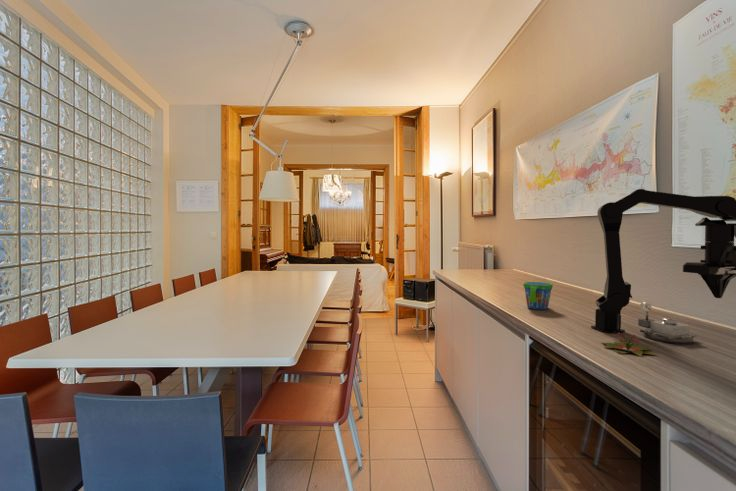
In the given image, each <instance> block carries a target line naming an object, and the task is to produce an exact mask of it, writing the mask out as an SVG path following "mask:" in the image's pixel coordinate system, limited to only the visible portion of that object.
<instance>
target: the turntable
mask: <svg viewBox="0 0 736 491" xmlns="http://www.w3.org/2000/svg"><path fill="white" fill-rule="evenodd" d="M639 332H641V333H642V336H643V337H644V338H647V339H649V340H652V341H657V342H660V343H661V342H662V343H666V344H674V345H691V344H694V339H695V338H697V334H694V333H690V332H689V335H680V336H670V335H667V334H663V333H659V332H655V331H651V330H650V328H642V329H641V328H640V329H639Z"/></svg>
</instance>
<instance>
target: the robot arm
mask: <svg viewBox="0 0 736 491" xmlns="http://www.w3.org/2000/svg"><path fill="white" fill-rule="evenodd" d="M639 204H645V205H650V206H658V207H664V208H670V209H671V208H672V209H673V208H674V209H679V210H685V211H690V212H693V213H695V214H698V215H701V216H703V217H702V218H701V219H700V220H699V221H698V222H695V224H694V225H695V227H704V245H700V250H704V259H700V260H699V261H689V262H685V263H684V264H683V265H682V273H691V274H698V275H699V276H700V277H701V278H702V280H703V281H704V282H705V284H706V286H707V288H708V289H709V291H711V294H712V295H713V297H714V298H715V299H722V298H723V296H724V294H725V291H726V289H727V287H728V285H729V283H730V282H731V280H732V279H734V278H736V273H735V271H736V245H735V239H736V198H735V197H733V196H730V195H706V196H705V195H704V196H703V195H702V196H693V195H685V194H677V193H669V192H661V191H655V190H654V191H652V190H646V189H643V188H638V189H635V190H633V191H632V192H631V193H630V194H628V195H626V196H624V197H622V198H620V199H619V200H617V201H615V202H614V201H613V202H611V201H609V202H606V203H605V204H603V205H601V206H600V207H598V210H597V218H598V222H599V224H600V228H601V230H602V233H603V241H604V254H605V255H604V256H605V257H604V258H605V268H606V269H605V270H606V278H605V283H604V288H603V289H604V290H603V295H602V296H600V297H599V298H598V299H596V300H595V304H596V307H597V309H595V314H594V315H595V324H594V325H591V326H590V328H592V329H595V330H598V331H601V332H604V333H608V334H610V333H618V332H619V333H623V332H624V333H625V332H626V330H625V329H623V328H622V315H621V313H622V312H621V311H622V310H623V308H624V307H626V306H628V305H629V304H630V300H631V299H633V295H632V293H631V290H632V284H631V283H630V282H628V281H625V279H624V277H623V266H622V254H621V253H622V252H621V251H622V250H621V241H620V240H621V239H620V238H621V237H620V232H621V227H622V226H621V225H622V223H623V222H622V221H623V214H624V213H625V212H627V211H629V210H630V209H632V208H633V207H635V206H637V205H639ZM709 218H711V219H709ZM727 222H733V223H727Z"/></svg>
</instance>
